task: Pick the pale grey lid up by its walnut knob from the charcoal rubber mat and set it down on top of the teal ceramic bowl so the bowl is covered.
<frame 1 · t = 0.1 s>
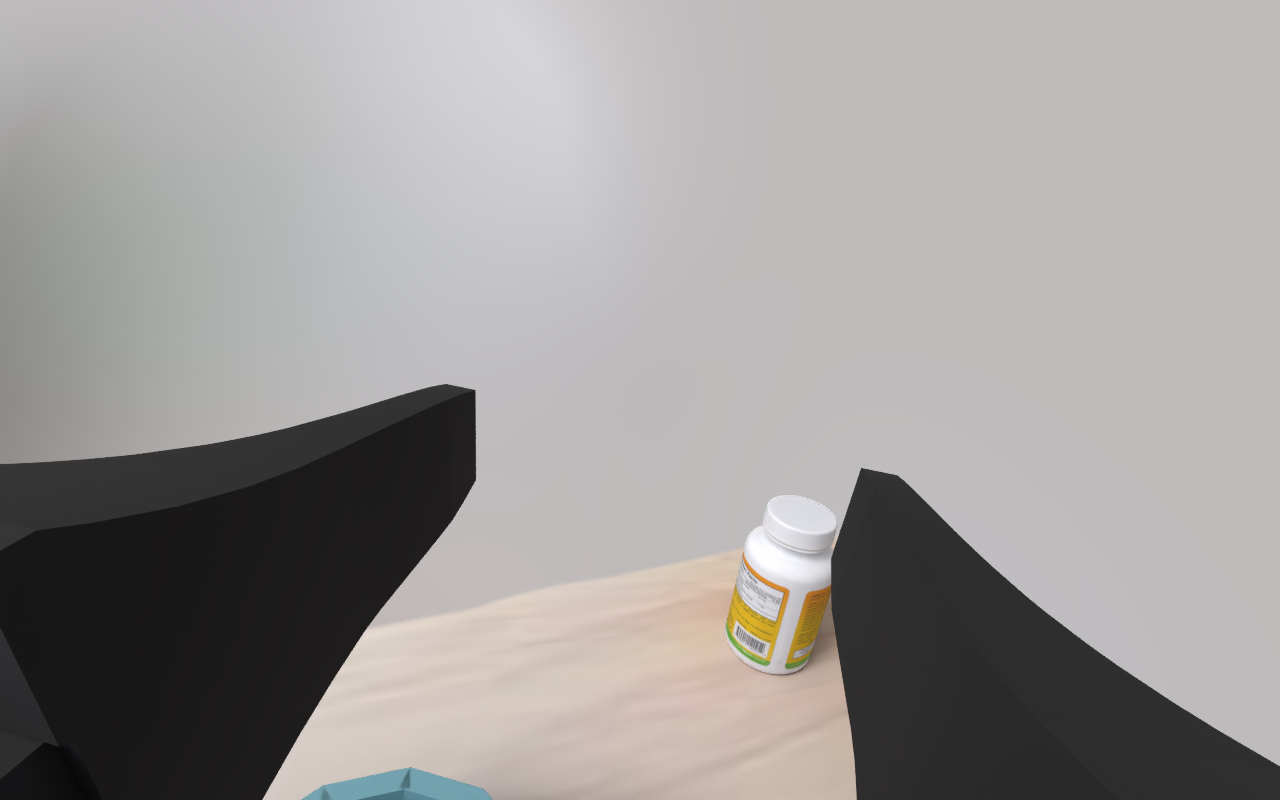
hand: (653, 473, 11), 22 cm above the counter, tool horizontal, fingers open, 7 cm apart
supplement bottle: (765, 645, 38), on the counter
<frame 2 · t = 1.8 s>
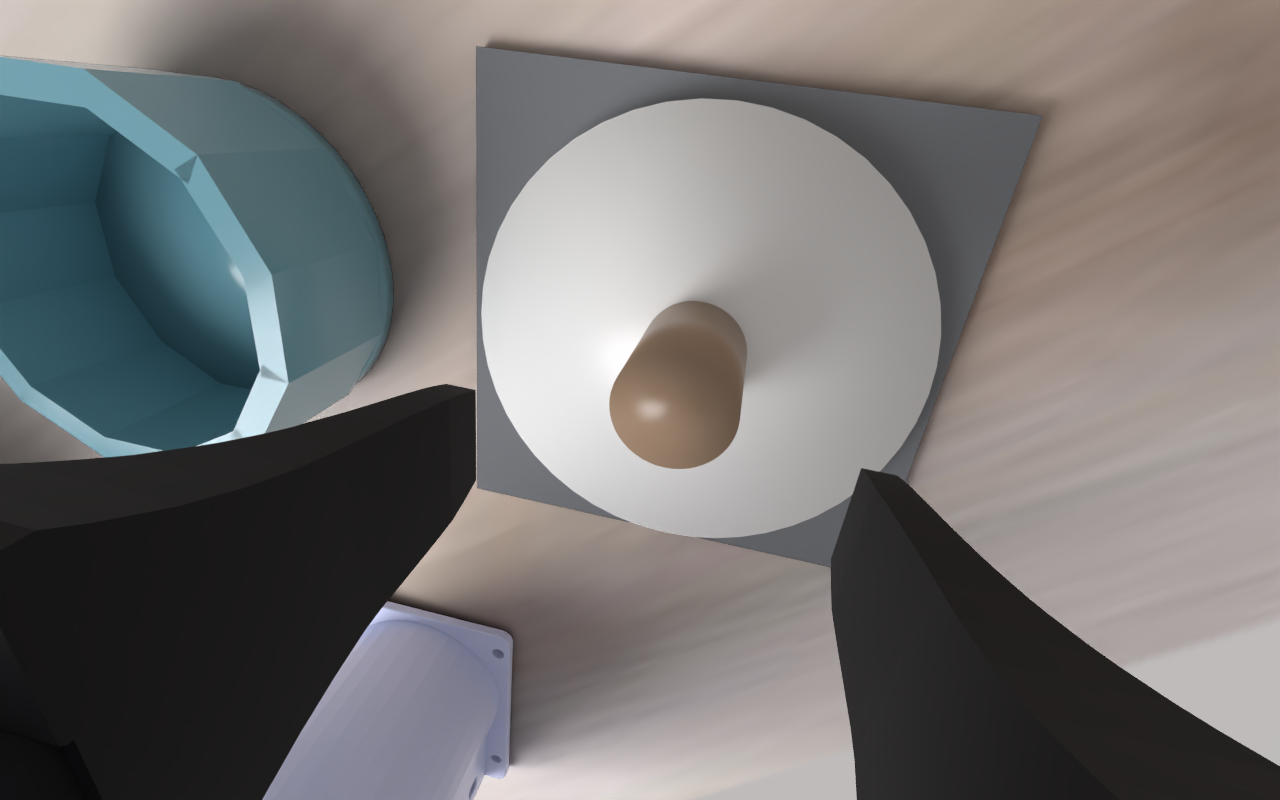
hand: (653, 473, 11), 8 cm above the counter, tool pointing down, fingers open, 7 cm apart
bowl: (245, 257, 20), on the counter
mat: (698, 339, 18), on the counter
lid: (697, 343, 18), resting on mat
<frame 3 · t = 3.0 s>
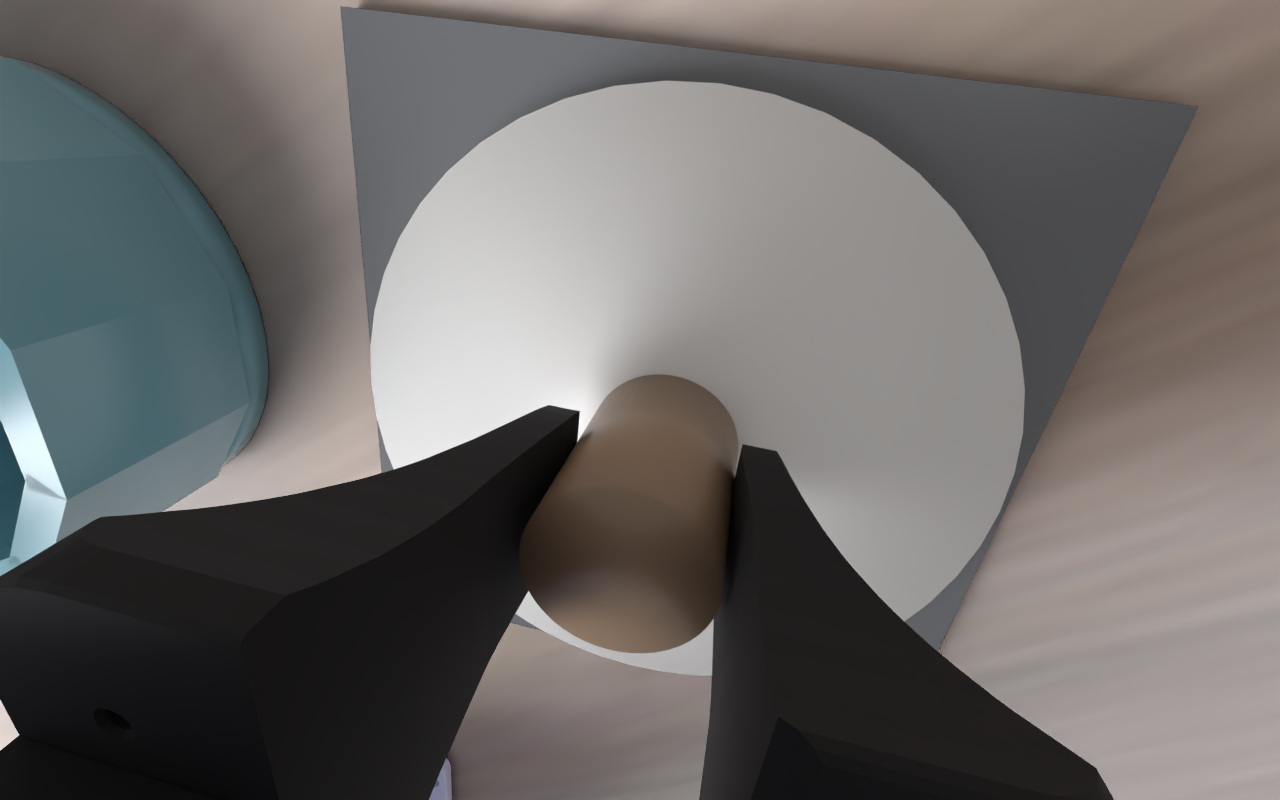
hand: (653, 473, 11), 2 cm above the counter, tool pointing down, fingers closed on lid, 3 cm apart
bowl: (76, 298, 15), on the counter
mat: (672, 417, 13), on the counter
lid: (669, 425, 13), resting on mat, touching gripper
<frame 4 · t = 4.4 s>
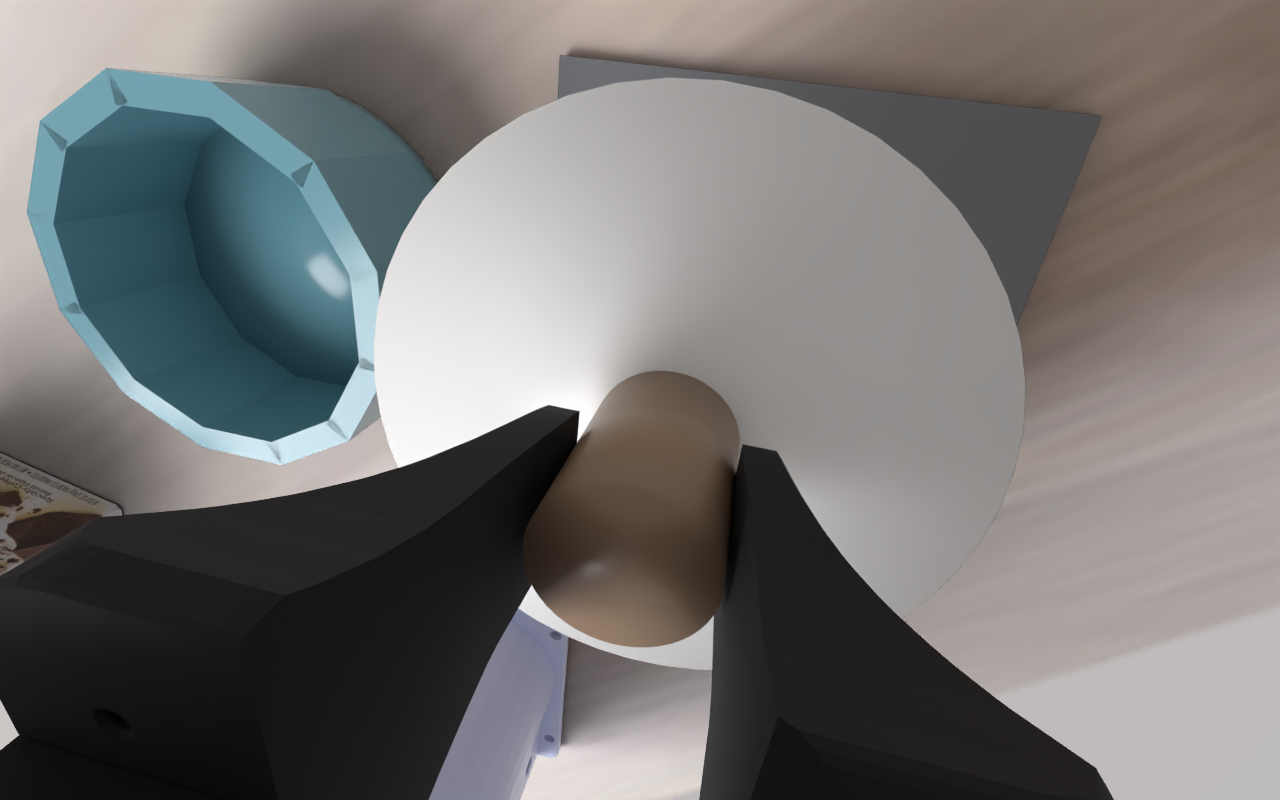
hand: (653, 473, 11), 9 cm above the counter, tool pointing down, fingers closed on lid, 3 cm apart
coffee box: (52, 510, 31), on the counter
bowl: (325, 256, 21), on the counter
mat: (762, 330, 19), on the counter
lid: (671, 421, 13), point 7 cm above the counter, touching gripper
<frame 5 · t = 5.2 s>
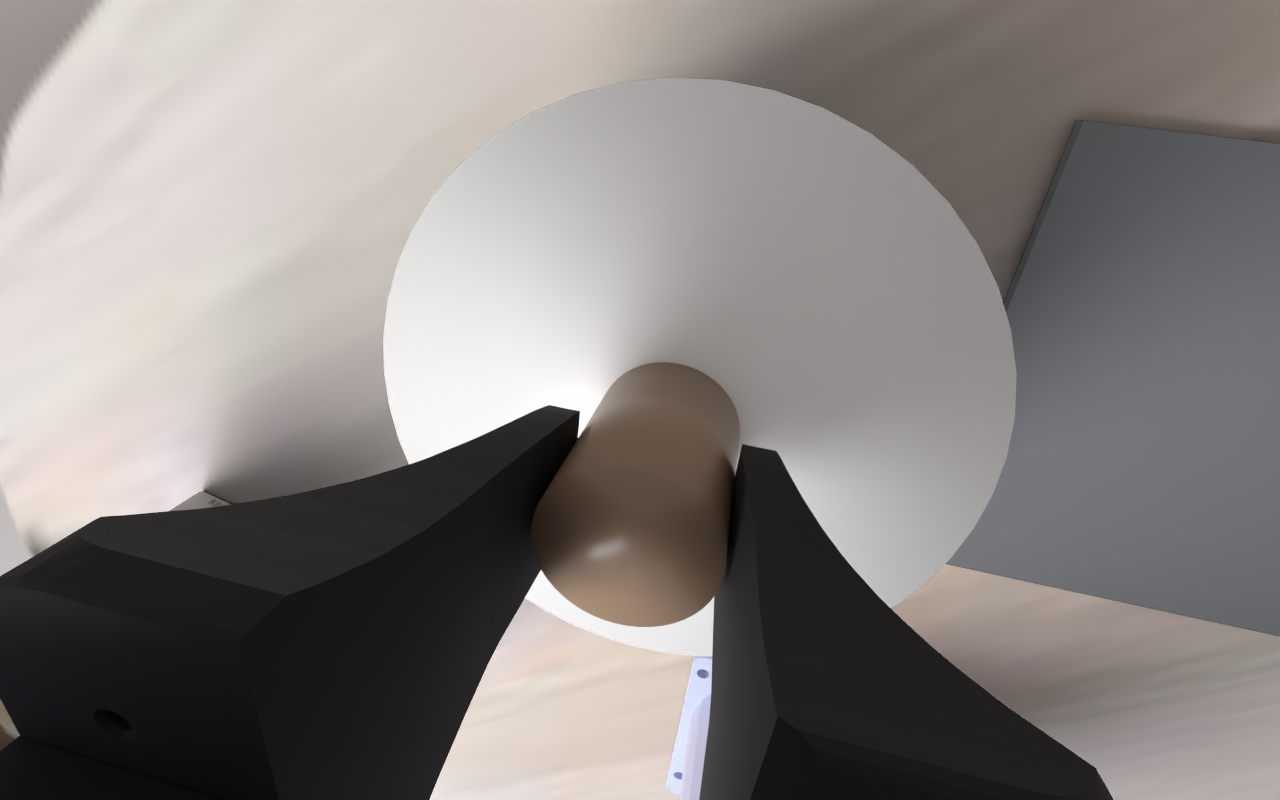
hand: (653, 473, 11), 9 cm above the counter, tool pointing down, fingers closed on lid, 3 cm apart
coffee box: (285, 568, 29), on the counter
mat: (1228, 414, 17), on the counter
lid: (673, 412, 13), point 7 cm above the counter, touching gripper
when the fingers open (8 cm above the counter, at t = 5.8 s): lid stays where it is, resting on bowl.
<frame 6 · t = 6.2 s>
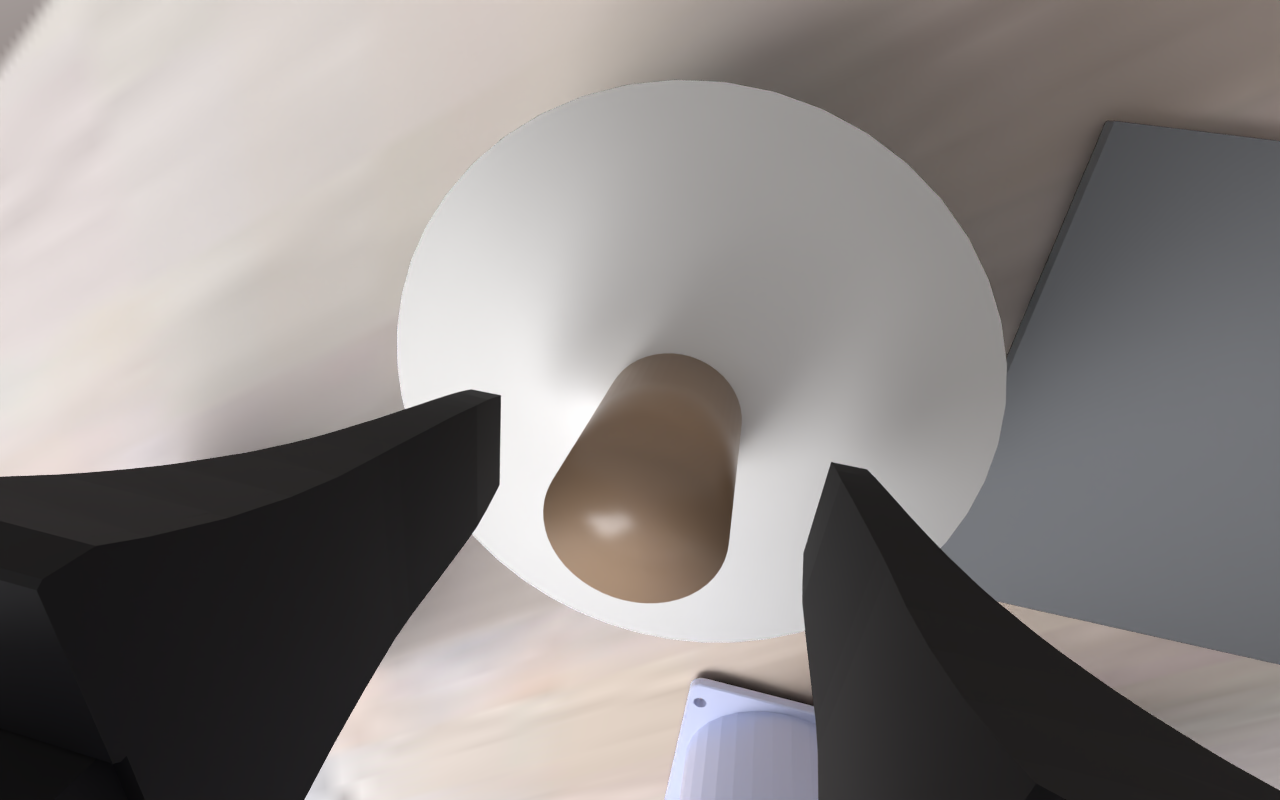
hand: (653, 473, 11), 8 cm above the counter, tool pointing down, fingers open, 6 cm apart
mat: (1264, 438, 16), on the counter
lid: (677, 402, 14), point 5 cm above the counter, touching bowl
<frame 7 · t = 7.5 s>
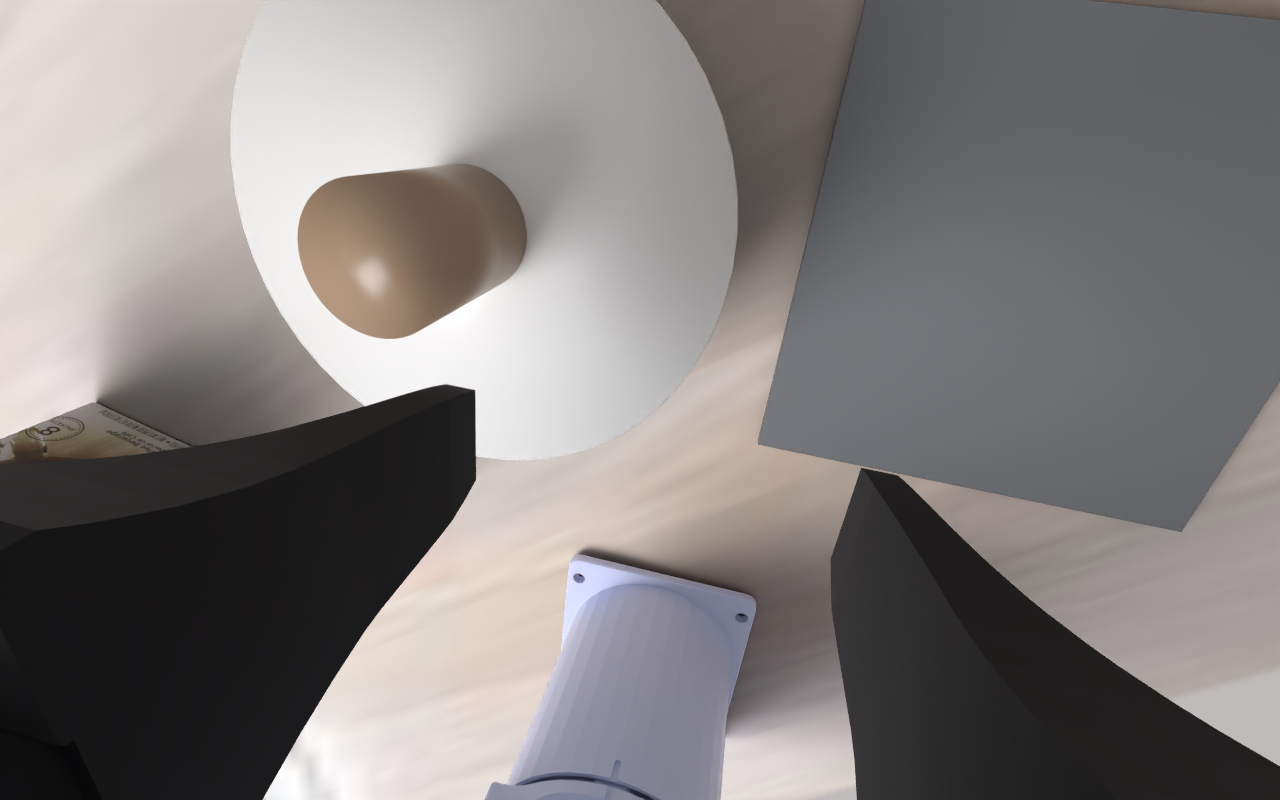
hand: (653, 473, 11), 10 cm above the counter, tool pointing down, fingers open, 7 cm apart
coffee box: (182, 484, 29), on the counter
mat: (1040, 285, 18), on the counter
lid: (482, 224, 15), point 5 cm above the counter, touching bowl
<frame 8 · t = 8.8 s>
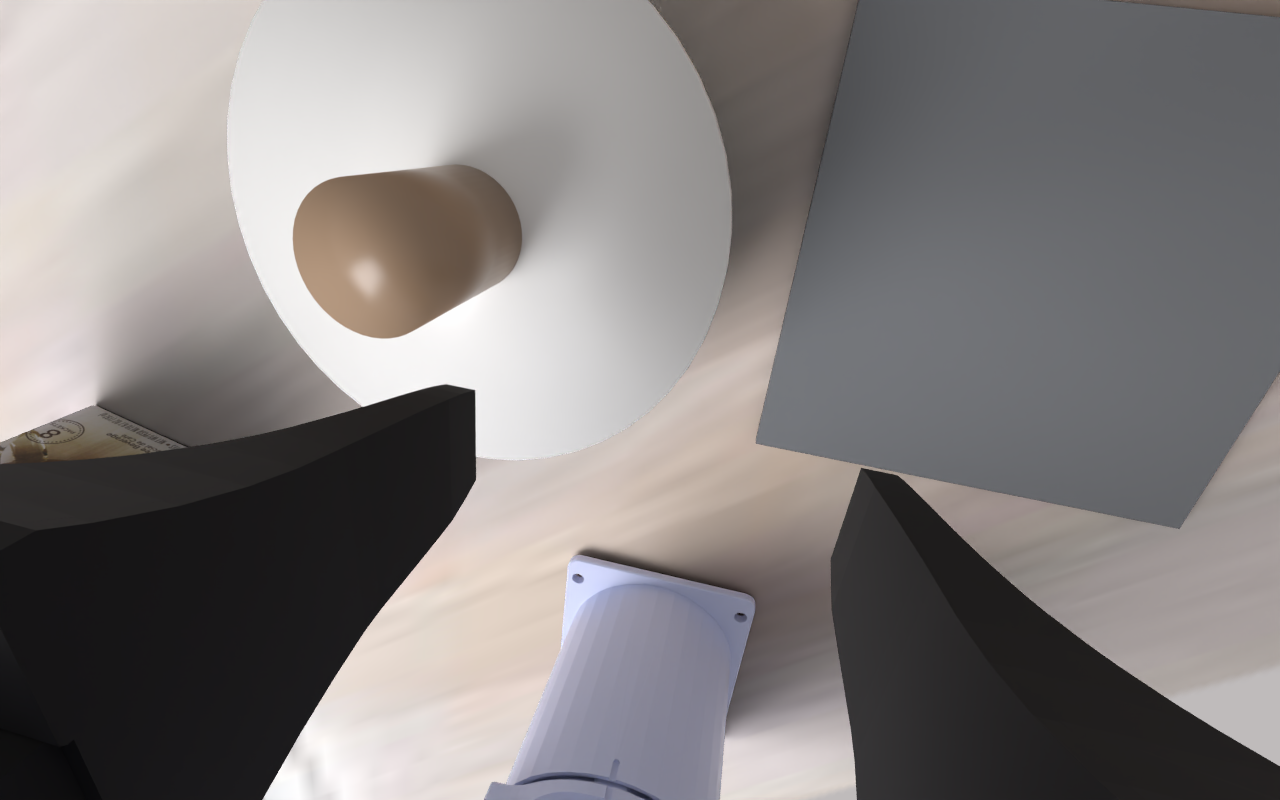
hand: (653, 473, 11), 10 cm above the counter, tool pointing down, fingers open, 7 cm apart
coffee box: (182, 486, 29), on the counter
mat: (1035, 283, 18), on the counter
lid: (478, 225, 15), point 5 cm above the counter, touching bowl
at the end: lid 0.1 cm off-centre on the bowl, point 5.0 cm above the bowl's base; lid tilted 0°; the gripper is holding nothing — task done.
